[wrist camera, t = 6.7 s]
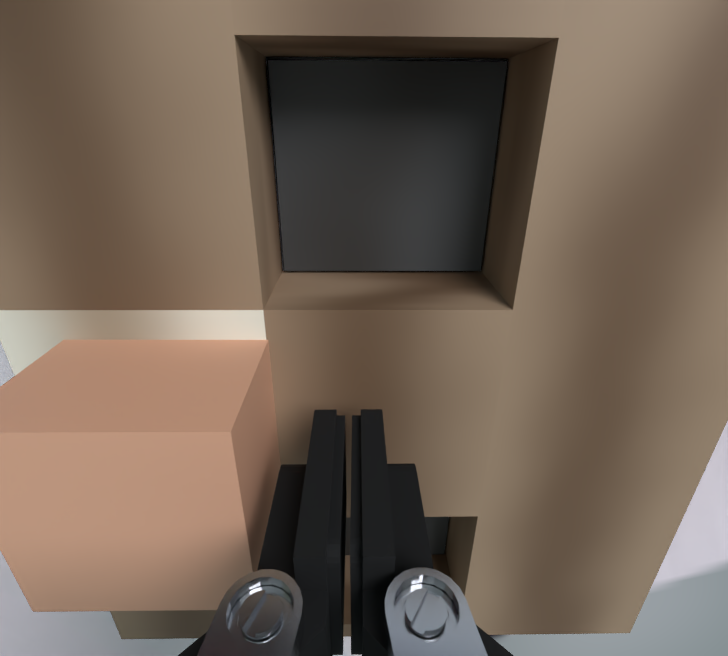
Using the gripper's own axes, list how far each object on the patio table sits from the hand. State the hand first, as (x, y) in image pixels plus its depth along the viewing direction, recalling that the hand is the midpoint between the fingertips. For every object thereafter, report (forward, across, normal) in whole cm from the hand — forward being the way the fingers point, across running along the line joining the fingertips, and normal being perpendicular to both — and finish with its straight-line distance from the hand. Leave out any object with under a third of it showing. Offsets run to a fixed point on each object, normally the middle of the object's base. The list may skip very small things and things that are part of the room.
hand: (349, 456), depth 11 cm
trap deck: (+4, -1, 0) cm, 4 cm away
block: (+1, +4, 0) cm, 5 cm away
